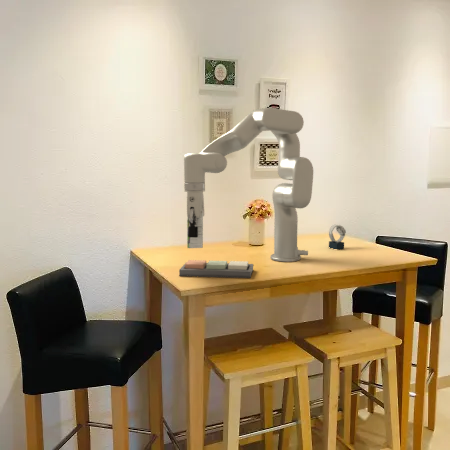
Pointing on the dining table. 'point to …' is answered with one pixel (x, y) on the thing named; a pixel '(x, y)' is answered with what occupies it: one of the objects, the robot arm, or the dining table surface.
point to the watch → (338, 243)
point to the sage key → (216, 265)
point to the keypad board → (216, 272)
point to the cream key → (238, 265)
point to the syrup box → (198, 241)
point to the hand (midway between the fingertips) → (195, 235)
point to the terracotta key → (195, 264)
